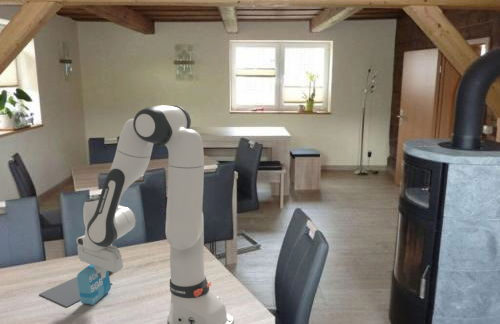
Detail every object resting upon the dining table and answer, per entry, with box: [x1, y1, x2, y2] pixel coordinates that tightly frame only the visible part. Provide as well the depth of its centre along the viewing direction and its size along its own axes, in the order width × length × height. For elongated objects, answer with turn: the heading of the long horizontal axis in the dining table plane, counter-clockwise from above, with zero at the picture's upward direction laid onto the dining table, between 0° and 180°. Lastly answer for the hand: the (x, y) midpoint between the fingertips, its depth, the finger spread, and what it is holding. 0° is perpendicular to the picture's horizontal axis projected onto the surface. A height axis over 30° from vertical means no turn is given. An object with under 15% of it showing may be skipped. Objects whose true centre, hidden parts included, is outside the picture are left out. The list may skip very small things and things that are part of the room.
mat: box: [38, 276, 113, 308], centre depth 161 cm, size 17×20×1 cm
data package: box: [76, 264, 112, 306], centre depth 154 cm, size 12×4×12 cm, turn 164°
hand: (101, 277), depth 151 cm, fingers closed
